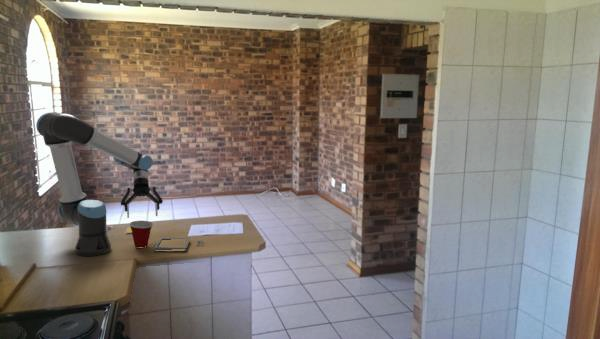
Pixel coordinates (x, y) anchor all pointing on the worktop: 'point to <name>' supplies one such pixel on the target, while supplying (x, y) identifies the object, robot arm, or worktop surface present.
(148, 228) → the plastic cup
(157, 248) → the tray
